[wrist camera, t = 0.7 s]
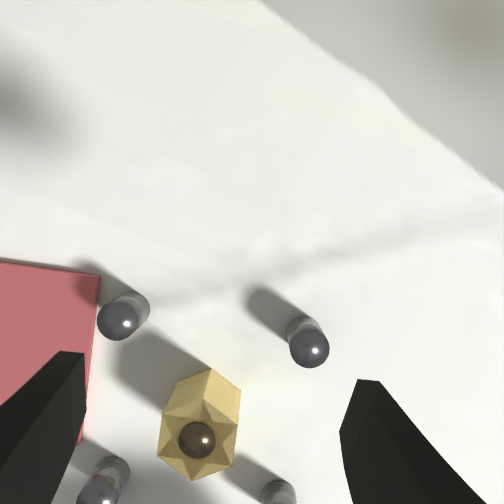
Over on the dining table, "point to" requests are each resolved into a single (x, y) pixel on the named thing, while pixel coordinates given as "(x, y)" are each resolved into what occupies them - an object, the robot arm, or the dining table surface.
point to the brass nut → (200, 425)
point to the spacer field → (122, 326)
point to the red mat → (43, 321)
